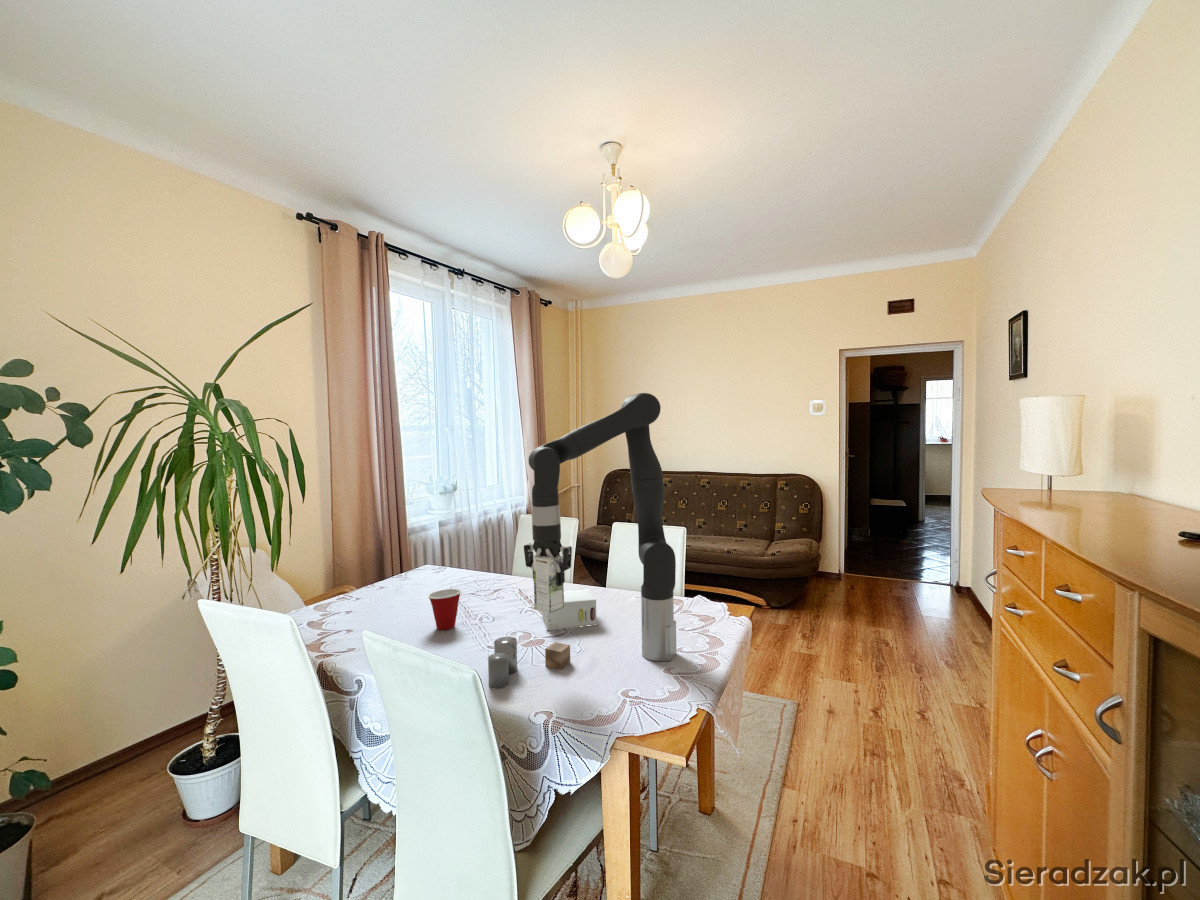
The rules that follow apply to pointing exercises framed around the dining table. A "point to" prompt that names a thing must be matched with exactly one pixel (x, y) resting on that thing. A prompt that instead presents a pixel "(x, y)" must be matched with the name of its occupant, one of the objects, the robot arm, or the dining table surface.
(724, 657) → the dining table surface
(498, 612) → the dining table surface
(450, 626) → the plastic cup
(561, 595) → the syrup box
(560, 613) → the supplement box
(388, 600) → the dining table surface
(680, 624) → the dining table surface
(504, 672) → the charcoal plastic canister
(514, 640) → the dark metal tin
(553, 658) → the walnut block
